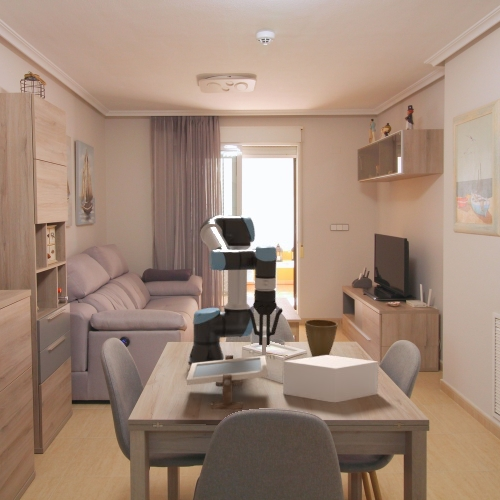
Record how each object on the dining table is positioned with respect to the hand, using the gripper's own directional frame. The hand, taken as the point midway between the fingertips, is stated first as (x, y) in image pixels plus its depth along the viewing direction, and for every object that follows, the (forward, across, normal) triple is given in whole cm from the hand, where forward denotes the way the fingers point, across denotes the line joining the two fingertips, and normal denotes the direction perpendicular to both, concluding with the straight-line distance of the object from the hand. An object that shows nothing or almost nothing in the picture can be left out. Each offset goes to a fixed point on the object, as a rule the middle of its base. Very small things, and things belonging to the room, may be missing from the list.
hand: (264, 353), depth 190 cm
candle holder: (+16, 0, +57) cm, 59 cm away
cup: (+16, +7, +40) cm, 44 cm away
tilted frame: (+6, -13, 0) cm, 14 cm away
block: (+16, +25, +1) cm, 29 cm away
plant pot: (+16, +28, +51) cm, 60 cm away
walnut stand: (+15, -13, 0) cm, 20 cm away
